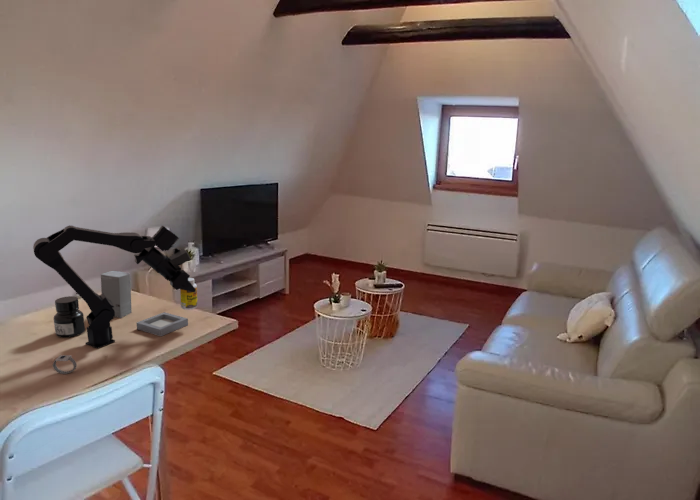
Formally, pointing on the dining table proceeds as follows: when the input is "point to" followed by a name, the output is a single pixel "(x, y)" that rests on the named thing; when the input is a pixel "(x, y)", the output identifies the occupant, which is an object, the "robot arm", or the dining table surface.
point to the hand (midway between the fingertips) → (192, 288)
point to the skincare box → (117, 291)
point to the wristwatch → (64, 358)
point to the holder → (162, 324)
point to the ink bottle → (68, 317)
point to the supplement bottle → (189, 297)
